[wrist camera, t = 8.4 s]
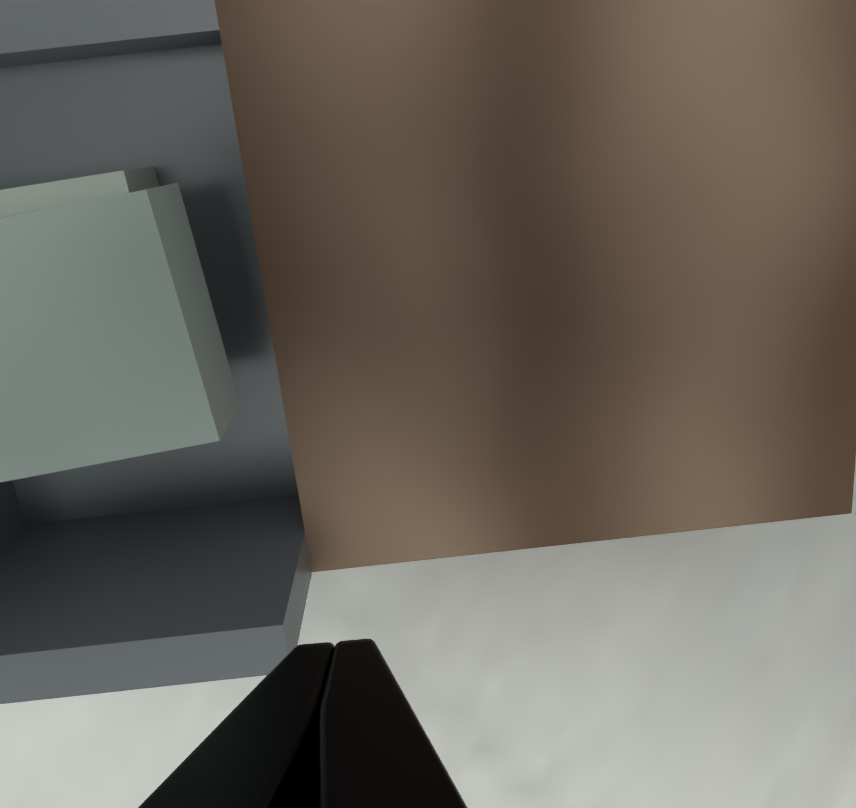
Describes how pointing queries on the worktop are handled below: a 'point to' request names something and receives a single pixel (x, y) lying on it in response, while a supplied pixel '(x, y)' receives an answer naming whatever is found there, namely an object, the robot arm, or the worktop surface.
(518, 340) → the walnut ledge
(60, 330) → the tile
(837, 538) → the worktop surface
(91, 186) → the tile
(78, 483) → the box
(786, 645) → the worktop surface
